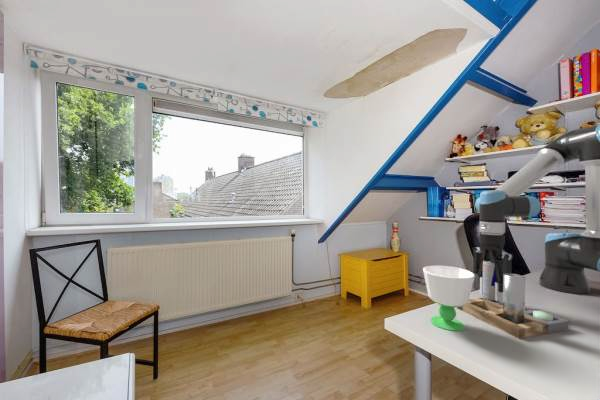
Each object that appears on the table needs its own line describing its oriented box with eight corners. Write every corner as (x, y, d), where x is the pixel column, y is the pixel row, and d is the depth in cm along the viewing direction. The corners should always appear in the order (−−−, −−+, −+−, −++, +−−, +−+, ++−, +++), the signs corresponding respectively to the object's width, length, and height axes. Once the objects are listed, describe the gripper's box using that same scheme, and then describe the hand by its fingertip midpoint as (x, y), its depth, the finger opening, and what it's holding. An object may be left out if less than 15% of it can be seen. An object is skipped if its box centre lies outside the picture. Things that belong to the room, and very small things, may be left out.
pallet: (482, 304, 94) (482, 297, 94) (548, 333, 74) (548, 324, 74) (457, 308, 91) (457, 300, 91) (519, 338, 71) (519, 329, 71)
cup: (442, 337, 72) (442, 279, 72) (413, 314, 86) (413, 266, 85) (486, 333, 74) (487, 277, 74) (451, 312, 88) (451, 264, 88)
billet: (511, 321, 81) (511, 272, 81) (528, 329, 76) (529, 277, 76) (498, 323, 80) (499, 274, 80) (515, 331, 75) (516, 279, 75)
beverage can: (502, 305, 93) (503, 263, 93) (486, 304, 94) (487, 262, 94) (495, 300, 98) (495, 259, 98) (479, 298, 99) (480, 259, 99)
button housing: (537, 317, 84) (537, 309, 84) (568, 329, 76) (568, 320, 76) (518, 320, 82) (518, 312, 82) (548, 333, 74) (548, 324, 74)
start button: (539, 317, 82) (539, 310, 82) (556, 324, 78) (556, 316, 78) (529, 319, 81) (529, 311, 81) (545, 326, 76) (545, 318, 76)
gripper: (462, 230, 103) (461, 289, 104) (509, 237, 86) (508, 308, 86) (477, 229, 105) (476, 288, 106) (526, 236, 88) (525, 306, 88)
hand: (491, 297), depth 96 cm, fingers closed on beverage can, 5 cm apart
